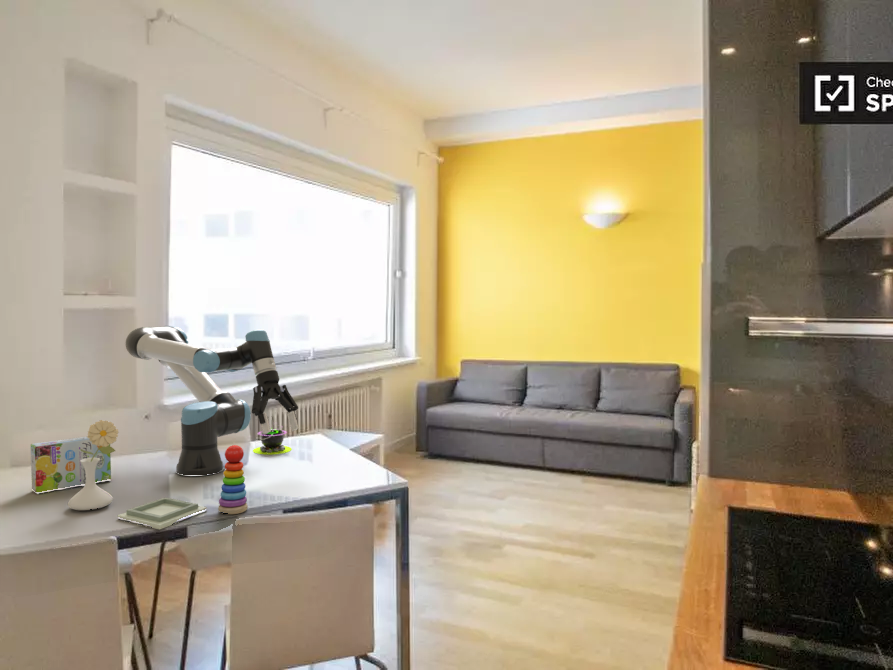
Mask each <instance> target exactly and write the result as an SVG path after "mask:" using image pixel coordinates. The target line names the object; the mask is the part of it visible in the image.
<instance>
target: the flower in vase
mask: <svg viewBox="0 0 893 670" xmlns="http://www.w3.org/2000/svg"><path fill="white" fill-rule="evenodd" d="M119 433H120V432H119V429H117V426H116V425H115V424H114V423H113V422H112V421H109V420H103V419H101V420H99V421H95V423H93V424H91V425H89V429H88V431H87V436H86V437H88V438H89V440H90V441H92V444H93V445H94V444H95V445H97V446H99V448H98V450H100V451H101V452H102V453H103V454H109V453H110V454H112V453H114V452H116V449H115V448H114V447H112V446H111V444H113V443H115V442H117V438H118V436H119V435H118V434H119ZM109 444H110V446H109ZM100 446H102V447H101V448H100ZM80 450H81V451H82V452H84V453H88V454H92V455H94V456H95V455H96V453H97V452H98V450H97V451H96V453H95V454H93V453H92V452H88V451H84V450H82V449H80ZM94 456H93V457H92V458H85V459H82V460H80V462H81V463H82V464H83V466H84V468H85V473H86V483H85V486H82V487H83V488H81V489H80V490H79V491H78V492H76V493H75V494H74V495H73V496H72V497H71V498H70V499H69V500H68V503H67V506H68V507H69V508H70V509H71V510H75V511H91V510H90V509H92V510H98V509H101V508H104V507H106V506H108V505H110V504H111V503H112V502H113V501H114V497H113V496H112V495H111V494H110V493H109V492H108V491H106V490H104V489H103V488H101V487H100V486H99V485H97V484H96V483H95V469H96V465H97V463H98V461H99V460H100V458H94ZM97 508H98V509H97Z"/></svg>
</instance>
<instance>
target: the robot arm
mask: <svg viewBox="0 0 893 670" xmlns="http://www.w3.org/2000/svg"><path fill="white" fill-rule="evenodd" d="M244 337H245V342H244V343H242V344H240V345H238V346H236V347H235V346H234V347H227V348H210V347H204V346H199V345H194V344H190V343H189V340H188V336H187V334H186V332H185V331H184V330H183V329H181V328H180V327H177V326H173V325H164V326H144V327H143V326H142V327H138V328H135V329H133V330H132V331H131V332H130V333H129V334H128V335H127V337H126V339H125V349H126V351H127V352H128V354H129V355H131V356H132V357H134V358H136V359H142V360H146V361H147V360H148V361H150V360H152V359H154V360H157V361H158V362H159V363H160V364H161V365H162V366H164V367H169V368H170V369H171V370H172V372H173V373H174V374H175V375H176V376H177V378H178V379H179V380H180V381H181V383H183V384H184V385H185V387H186V388H187V389H188V390H189V392H190V393H191V394H192V395H193V396H194V397H195V399H196V400H197V402H193V403H189V404H187V405H186V406H184V407H183V408H182V410H181V417H180V425H181V426H180V428H181V430H180V431H181V451H180V454H179V459H178V463H177V464H176V467H175V470H176V472H177V473H179V474H183V475H207V474H212V475H214V474H213V473H216V474H218V472H219V473H220V472H222V471H223V470H224V463H223V460H222V458H221V454H220V450H219V448H218V447H219V446H218V438H220V437H223V436H228V435H232V434H237V433H239V432H242V431H244V430H246V429H247V428H248V427H249V425H250V422H251V419H252V418H251V414H254V416H255V417H258V421H259V424H260V425H261V429H262V431H263V434H267V433H269V432H271V430H272V429H271V427H270V426H271V425H270V421H269V419H268V418H269V417H268V416H267V412H265V410H266V407H267V404H268V401H269V400H275V401H277V402H278V403H279V404H280V405H281V406H282V407H283V408H284V409H285V410H286V411H287V414H286V415H287V419H288V423H289V427H290V429H291V432H294V431H297V430H299V428H300V427H299V425H298V421H297V415H296V411H297V410H298V409H299V405H298V404H297V403H296V401H295V400H294V398H293V396H292V395H291V393H290V392H289V390H288V387H287V385H286V384H283V385H280V384H279V382H280V376H279V373H278V371H277V367H276V362H275V359H274V358H275V357H274V355H273V351H272V350H273V349H272V347H271V341H270V339H269V335H268V333H267V332H266V330H265V329H254V330H252V331H249V332H247V333H246V334H245V336H244ZM251 364H252V369H253V372H254V375H255V380H256V383H257V385H256V386H254V387H253V388H252V389H253V399H252V406H251V408H250V405H249V404H248V403H247V402H246V401H245V400H243V399H236V398H234V396H233V395H232V394H231V393H230V392H229V391H223V390H222V389H221V387H219V386H218V384H217V383H215V381H214V380H213V378H211V377H210V375H209V374H208V373H213V372H219V371H221V372H222V371H229V372H231V373H234V372H237V371H240V370H242V369H244V368H245V367H247V366H249V365H251ZM176 472H175V473H176ZM177 473H176V474H177ZM207 476H208V475H207Z"/></svg>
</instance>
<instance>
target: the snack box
mask: <svg viewBox="0 0 893 670" xmlns="http://www.w3.org/2000/svg"><path fill="white" fill-rule="evenodd" d="M109 446H110V447H111V444H109ZM101 447H102V446H100V448H101ZM98 448H99V446H97V445H95V444H94V445H93V444H92V441H90V440H89V438H88V437H87V436H81V437H73V438H66V439H58V440H50V441H43V442H34V443H31V444H30V466H31V467H30V468H31V471H30V472H31V490H32V489H33V490H34V491H35V492H42V491H47V490H53V489H58V488H65V487H70V486H75V485H81V484H85V483H86V473H85V468H84V466H83V464H82V463H81V462H80V460H82V459H85V458H92V457H93V456H94V455H92V454H88V453H84V452H82V451H81V450H80V449H82V450H84V451H88V452H92V453H93V454H95V453H96V451H97V450H98ZM94 458H100V460H99V461H98V463H97V465H96V469H95V482H97V481H102V480H107V479H111V480H112V468H111V467H112V465H111V464H112V463H111V462H112V461H111V453H109V454H103V453H102V452H101V451H100V450H98V452H97V453H96V455H95V456H94Z"/></svg>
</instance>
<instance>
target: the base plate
mask: <svg viewBox="0 0 893 670" xmlns="http://www.w3.org/2000/svg"><path fill="white" fill-rule="evenodd" d="M205 509H207V507H205V506H202V505H199V503H195V502H191V501H186V500H180V499H175V498H170V497H166V496H165V497H163V498H159V499H156V500H152V501H150V502H146V503H143V504H140V505H138V506H135V507H132V508H129V509H127V510H126V511H125V512H124V513H120V514H117V517H120V518H123V519H126V520H131V521H136V522H139V523H143V524H147V525H150V526H152V528H151V529H156V530H162V529H165V528H167V527H170V526H173V525H174V524H173V523H174V522H176V521H177V520H179V519H181V518H183V517H186V516H188V515H191V514H193V513H196V512H199V511H202V510H205ZM172 524H173V525H172Z"/></svg>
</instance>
